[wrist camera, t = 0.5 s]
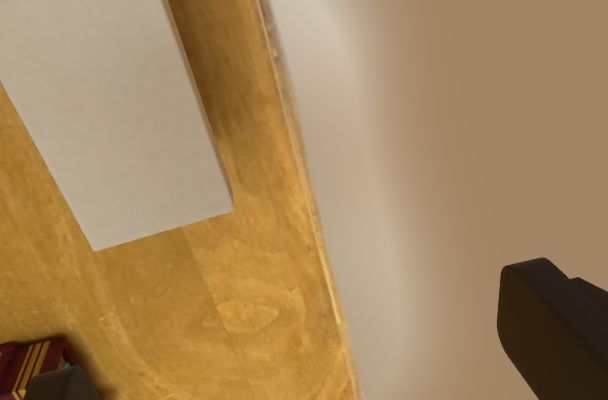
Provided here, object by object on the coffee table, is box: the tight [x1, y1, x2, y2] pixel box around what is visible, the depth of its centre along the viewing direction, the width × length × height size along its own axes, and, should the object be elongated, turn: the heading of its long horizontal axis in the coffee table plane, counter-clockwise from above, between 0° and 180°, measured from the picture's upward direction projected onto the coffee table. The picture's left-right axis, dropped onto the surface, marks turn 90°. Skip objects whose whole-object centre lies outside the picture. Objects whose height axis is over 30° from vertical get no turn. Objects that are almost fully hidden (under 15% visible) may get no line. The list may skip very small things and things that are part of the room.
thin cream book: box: [0, 0, 235, 251], centre depth 19 cm, size 11×6×2 cm, turn 13°
